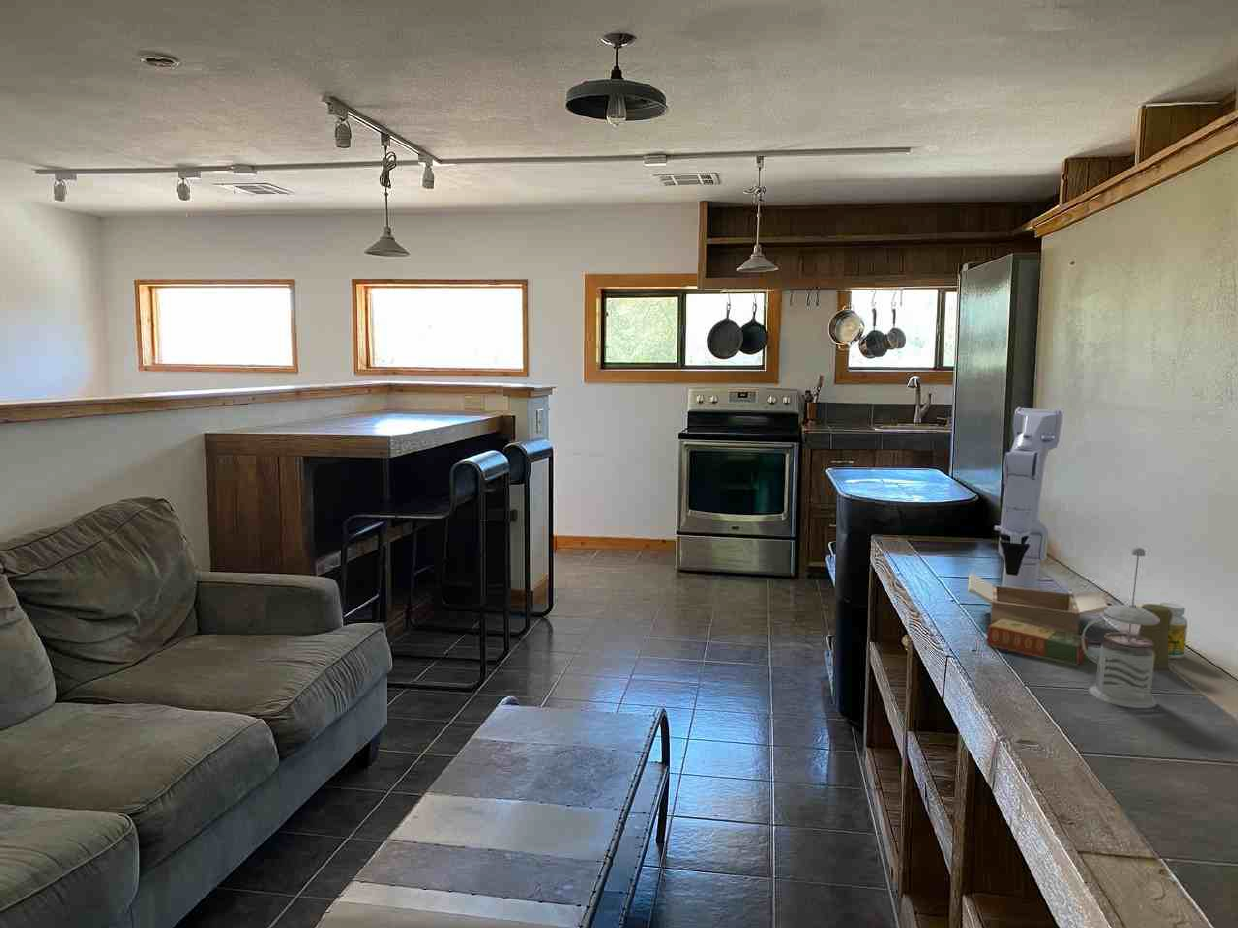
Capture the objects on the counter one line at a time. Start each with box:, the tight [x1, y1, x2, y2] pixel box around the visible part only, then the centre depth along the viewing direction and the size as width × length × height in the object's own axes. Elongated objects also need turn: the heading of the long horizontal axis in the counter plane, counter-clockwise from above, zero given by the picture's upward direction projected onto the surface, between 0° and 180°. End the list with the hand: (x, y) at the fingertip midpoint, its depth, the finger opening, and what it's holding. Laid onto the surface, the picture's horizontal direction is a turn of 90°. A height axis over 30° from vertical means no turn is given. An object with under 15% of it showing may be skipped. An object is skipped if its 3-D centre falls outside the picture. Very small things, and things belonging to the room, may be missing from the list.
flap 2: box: [1073, 588, 1109, 617], centre depth 185 cm, size 15×5×1 cm, turn 158°
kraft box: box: [989, 584, 1081, 635], centre depth 190 cm, size 16×16×5 cm
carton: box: [986, 618, 1090, 667], centre depth 171 cm, size 8×16×4 cm, turn 50°
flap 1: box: [967, 572, 994, 605], centre depth 193 cm, size 15×5×1 cm, turn 158°
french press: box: [1081, 547, 1160, 709], centre depth 148 cm, size 10×12×25 cm
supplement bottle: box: [1159, 602, 1188, 660], centre depth 171 cm, size 5×5×10 cm
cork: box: [1132, 603, 1172, 671], centre depth 165 cm, size 6×6×11 cm
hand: (1011, 571), depth 191 cm, fingers open, 7 cm apart
